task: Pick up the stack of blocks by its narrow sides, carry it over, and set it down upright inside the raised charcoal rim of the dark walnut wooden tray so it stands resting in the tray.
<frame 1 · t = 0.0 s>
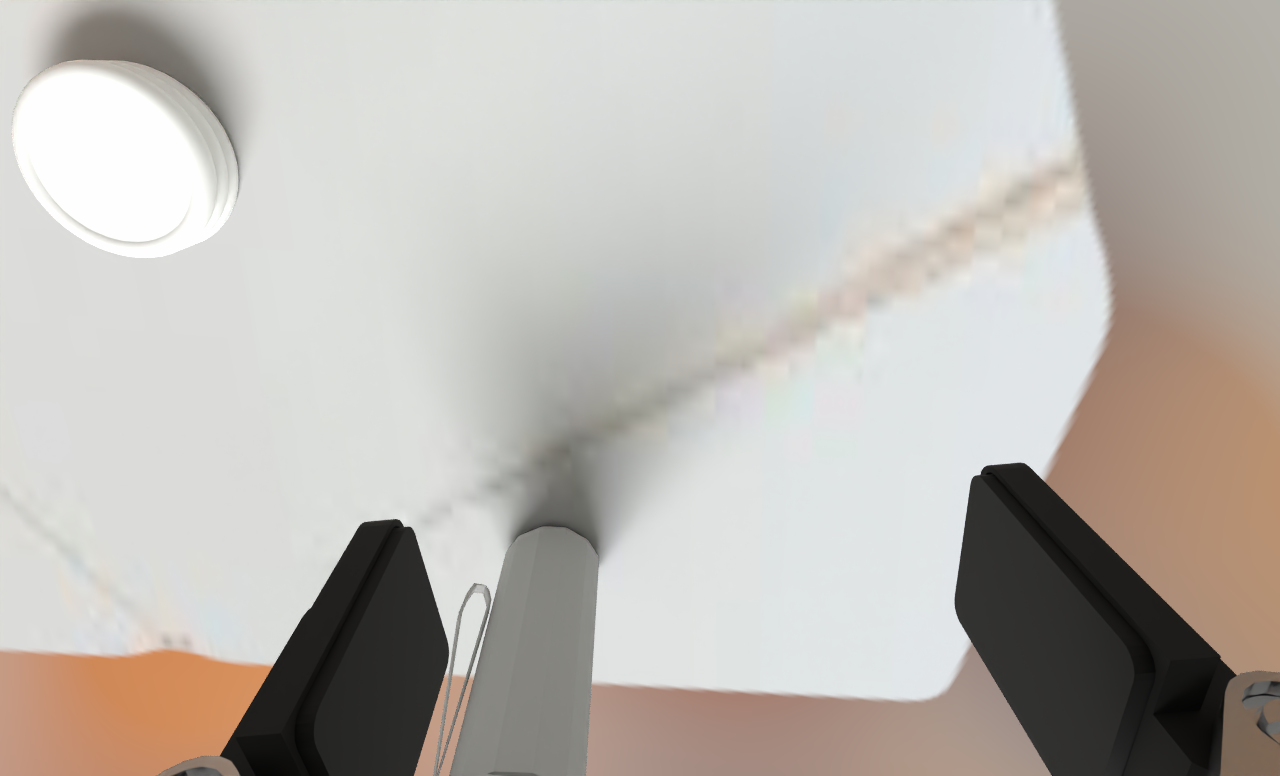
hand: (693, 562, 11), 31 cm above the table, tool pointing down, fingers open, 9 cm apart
water bottle: (541, 553, 51), on the table
coaster: (154, 157, 38), on the table
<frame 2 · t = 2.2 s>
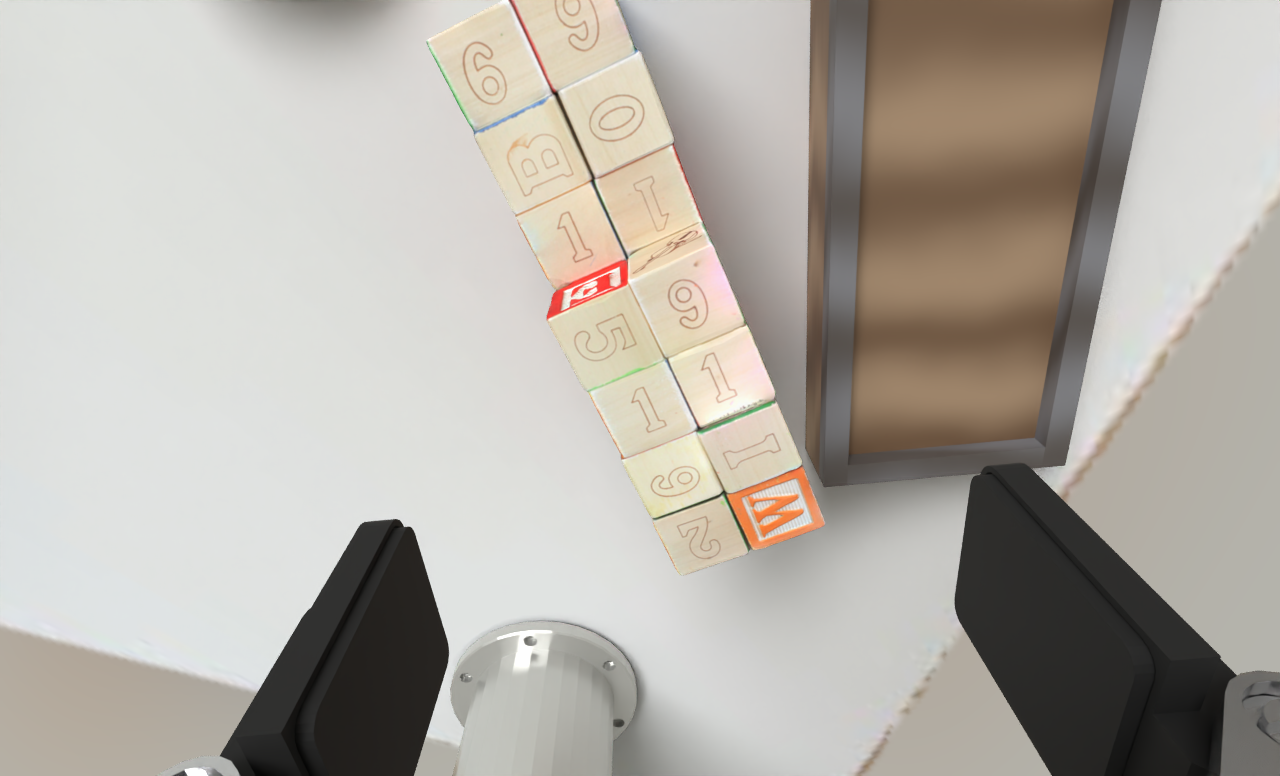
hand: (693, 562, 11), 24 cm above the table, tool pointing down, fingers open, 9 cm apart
stack of blocks: (641, 238, 33), on the table
wooden tray: (936, 193, 32), on the table
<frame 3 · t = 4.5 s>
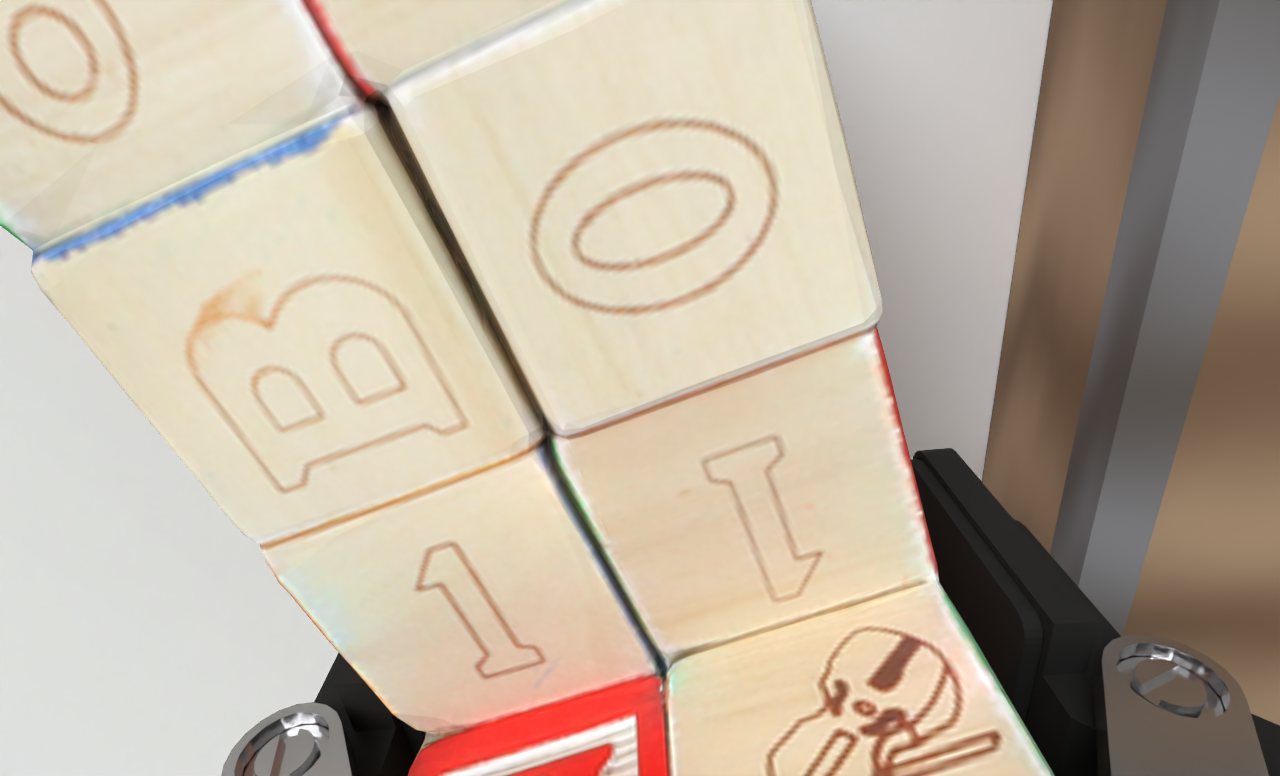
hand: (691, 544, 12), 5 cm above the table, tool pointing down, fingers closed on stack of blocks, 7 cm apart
stack of blocks: (668, 398, 16), on the table, touching gripper
wooden tray: (1272, 323, 15), on the table
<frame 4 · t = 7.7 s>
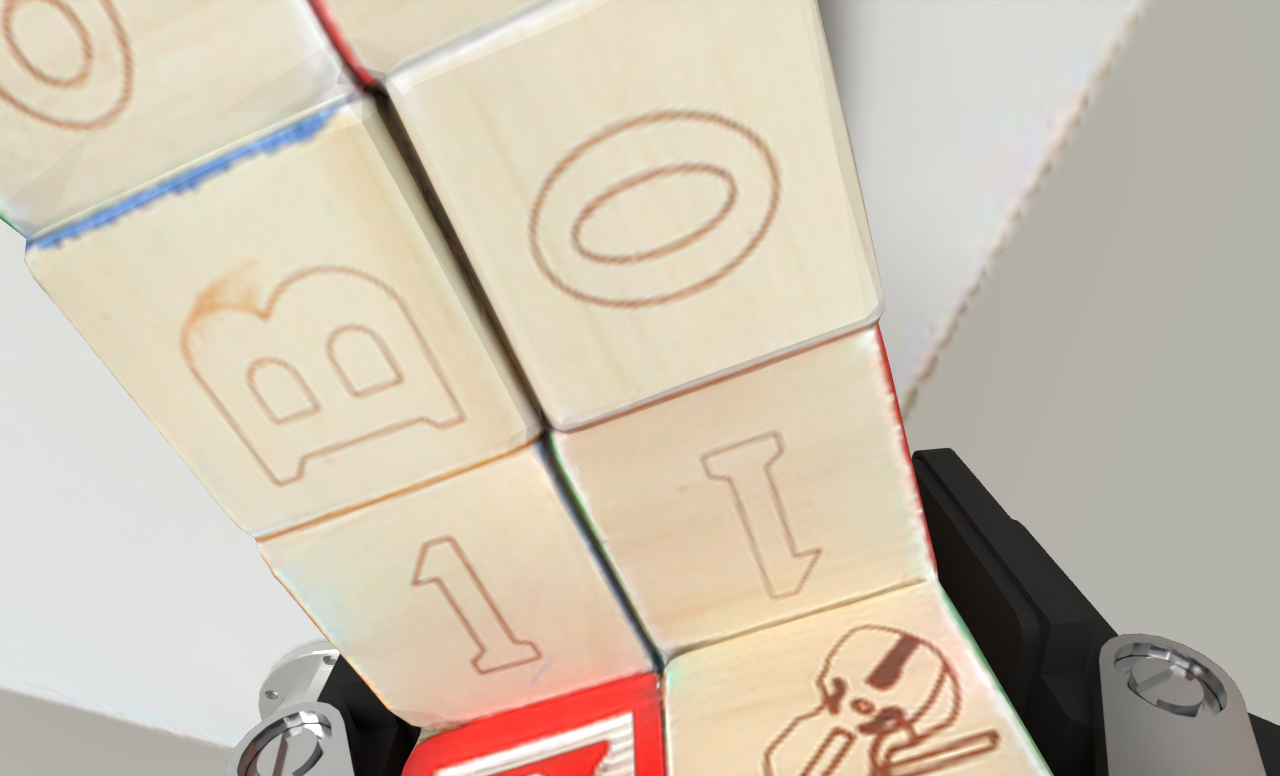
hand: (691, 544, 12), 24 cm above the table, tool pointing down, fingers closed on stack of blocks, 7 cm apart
stack of blocks: (667, 395, 16), point 19 cm above the table, touching gripper
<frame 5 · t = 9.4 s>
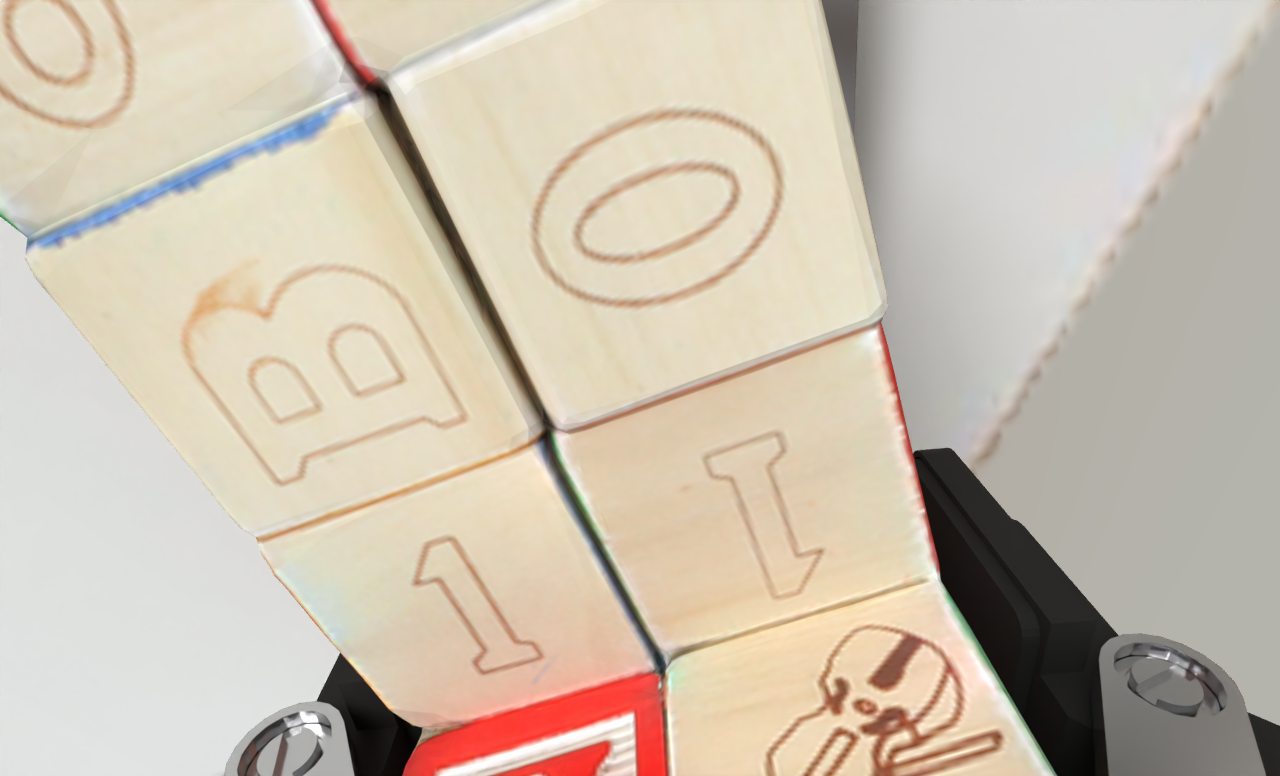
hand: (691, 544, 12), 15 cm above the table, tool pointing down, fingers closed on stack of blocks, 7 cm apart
stack of blocks: (668, 395, 16), point 10 cm above the table, touching gripper
wooden tray: (654, 290, 26), on the table
when the fingers open (10 cm above the table, at t = 11.0 s): stack of blocks stays where it is, resting on wooden tray.
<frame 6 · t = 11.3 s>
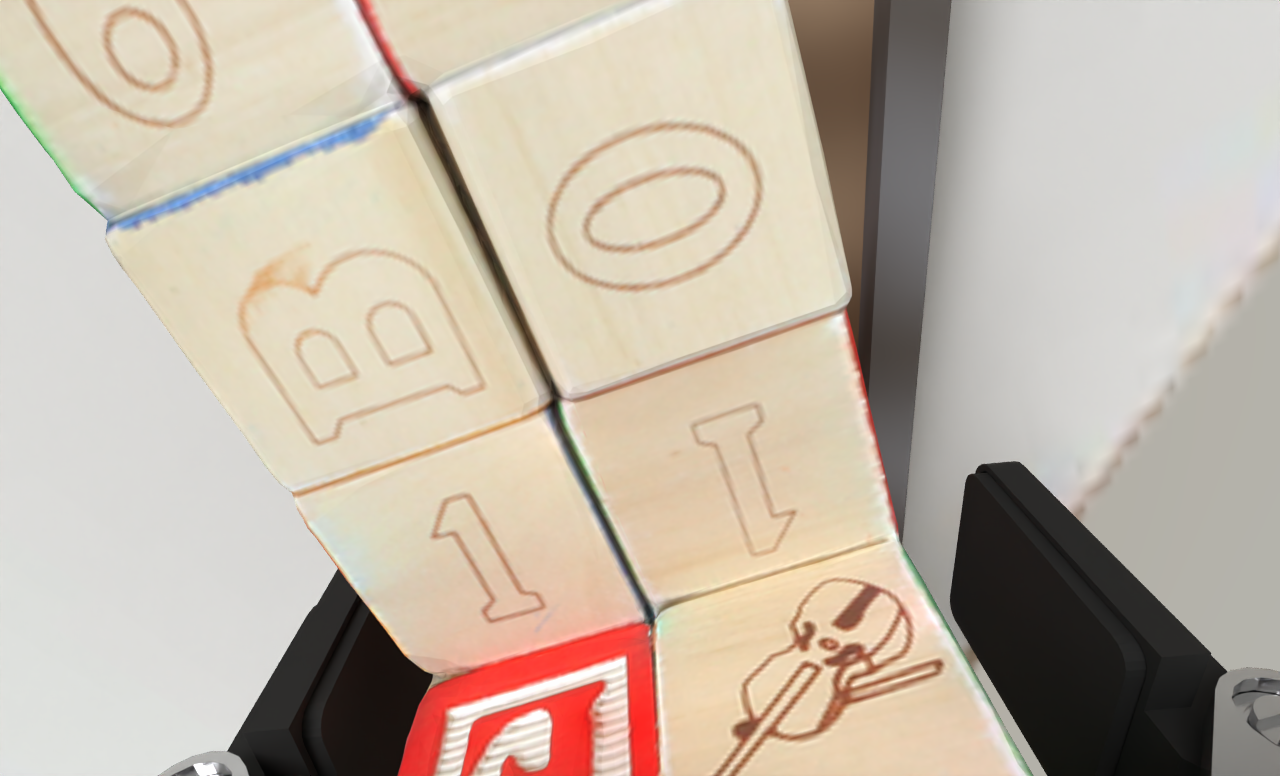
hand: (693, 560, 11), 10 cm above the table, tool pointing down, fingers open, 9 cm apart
stack of blocks: (659, 387, 17), point 4 cm above the table, touching wooden tray
wooden tray: (664, 339, 20), on the table
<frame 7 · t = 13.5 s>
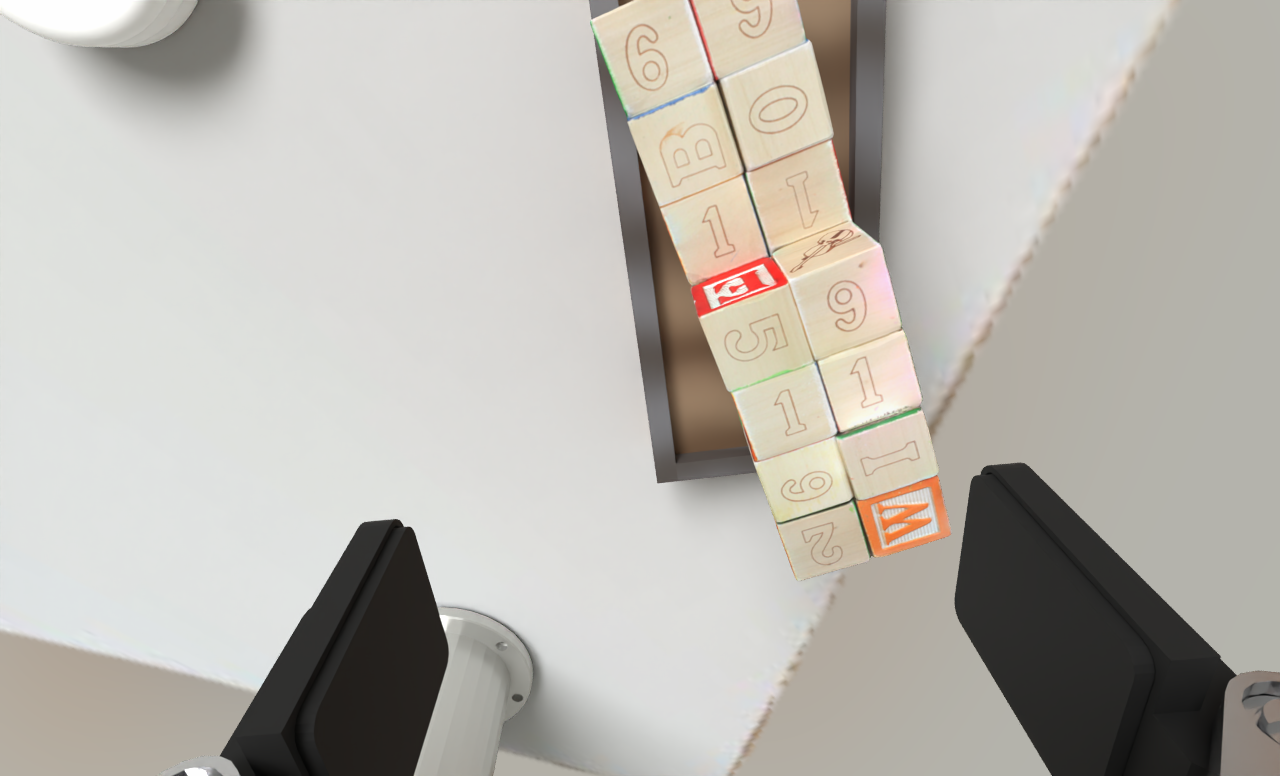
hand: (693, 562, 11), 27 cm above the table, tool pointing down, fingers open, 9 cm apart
stack of blocks: (744, 233, 32), point 4 cm above the table, touching wooden tray
wooden tray: (739, 219, 36), on the table
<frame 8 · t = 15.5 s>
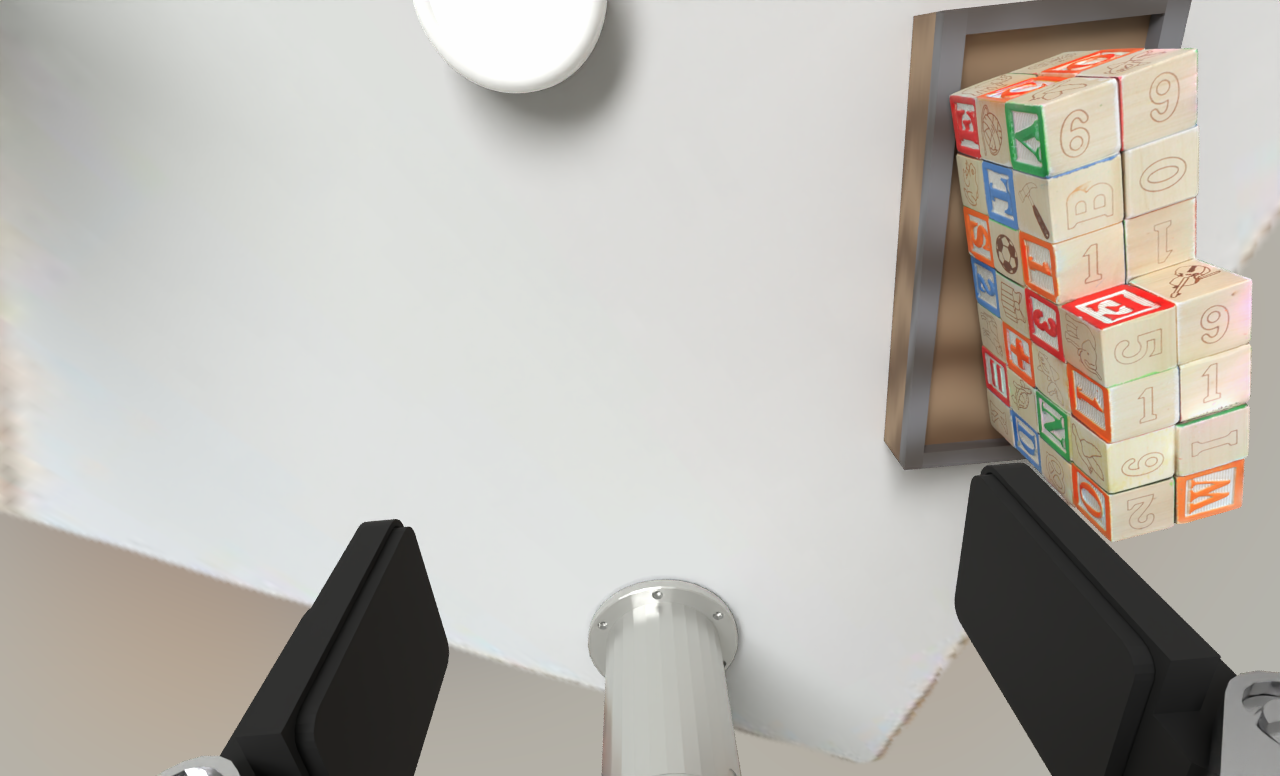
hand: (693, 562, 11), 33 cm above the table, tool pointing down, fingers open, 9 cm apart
stack of blocks: (1021, 260, 39), point 4 cm above the table, touching wooden tray
wooden tray: (993, 247, 43), on the table
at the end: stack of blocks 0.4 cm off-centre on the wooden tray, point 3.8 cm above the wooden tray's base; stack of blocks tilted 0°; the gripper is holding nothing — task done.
